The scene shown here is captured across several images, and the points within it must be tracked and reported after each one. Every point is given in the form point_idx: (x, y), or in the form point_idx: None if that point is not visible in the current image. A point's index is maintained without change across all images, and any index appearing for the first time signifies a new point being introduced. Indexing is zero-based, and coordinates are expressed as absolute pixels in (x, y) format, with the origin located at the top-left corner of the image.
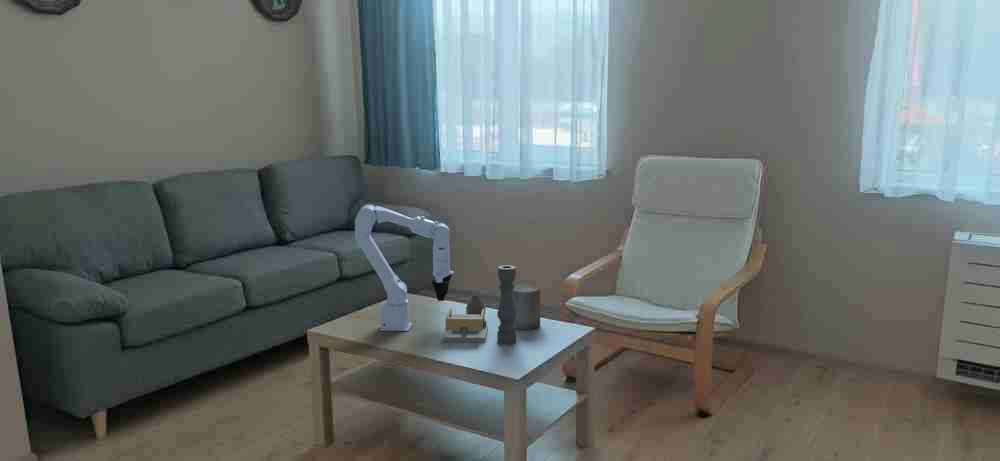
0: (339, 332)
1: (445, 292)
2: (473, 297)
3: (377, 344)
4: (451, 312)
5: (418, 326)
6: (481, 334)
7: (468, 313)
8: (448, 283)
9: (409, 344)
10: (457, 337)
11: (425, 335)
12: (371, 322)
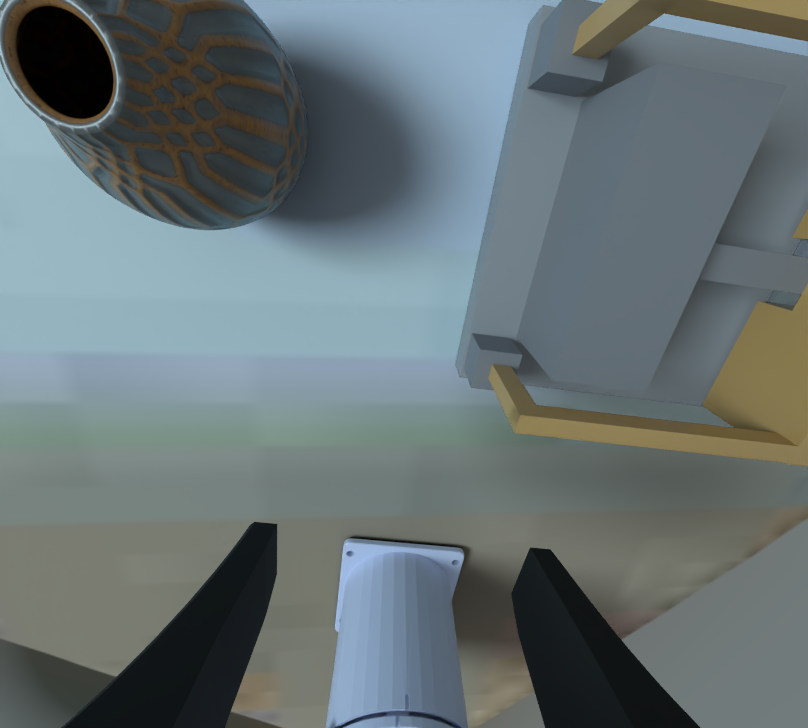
0: None
1: (268, 562)
2: (129, 114)
3: None
4: (526, 399)
5: (384, 506)
6: (784, 106)
7: (277, 205)
8: (189, 692)
9: (661, 533)
10: None
11: (546, 474)
12: (313, 661)
